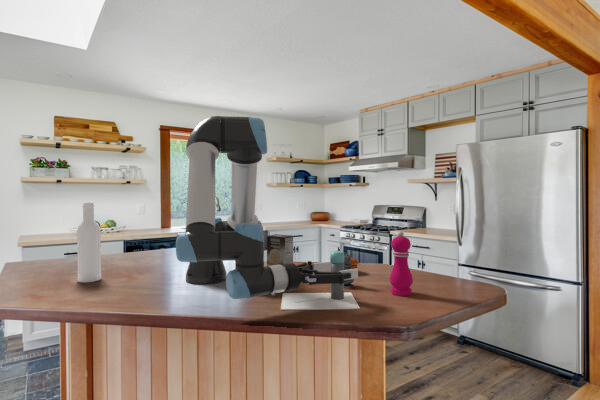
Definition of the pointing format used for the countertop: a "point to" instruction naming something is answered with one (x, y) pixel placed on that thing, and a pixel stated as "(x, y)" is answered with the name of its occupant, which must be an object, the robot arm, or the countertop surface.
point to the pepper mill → (401, 266)
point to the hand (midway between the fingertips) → (342, 269)
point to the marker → (337, 266)
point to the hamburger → (354, 263)
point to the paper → (317, 301)
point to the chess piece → (346, 267)
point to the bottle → (88, 246)
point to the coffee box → (279, 249)
